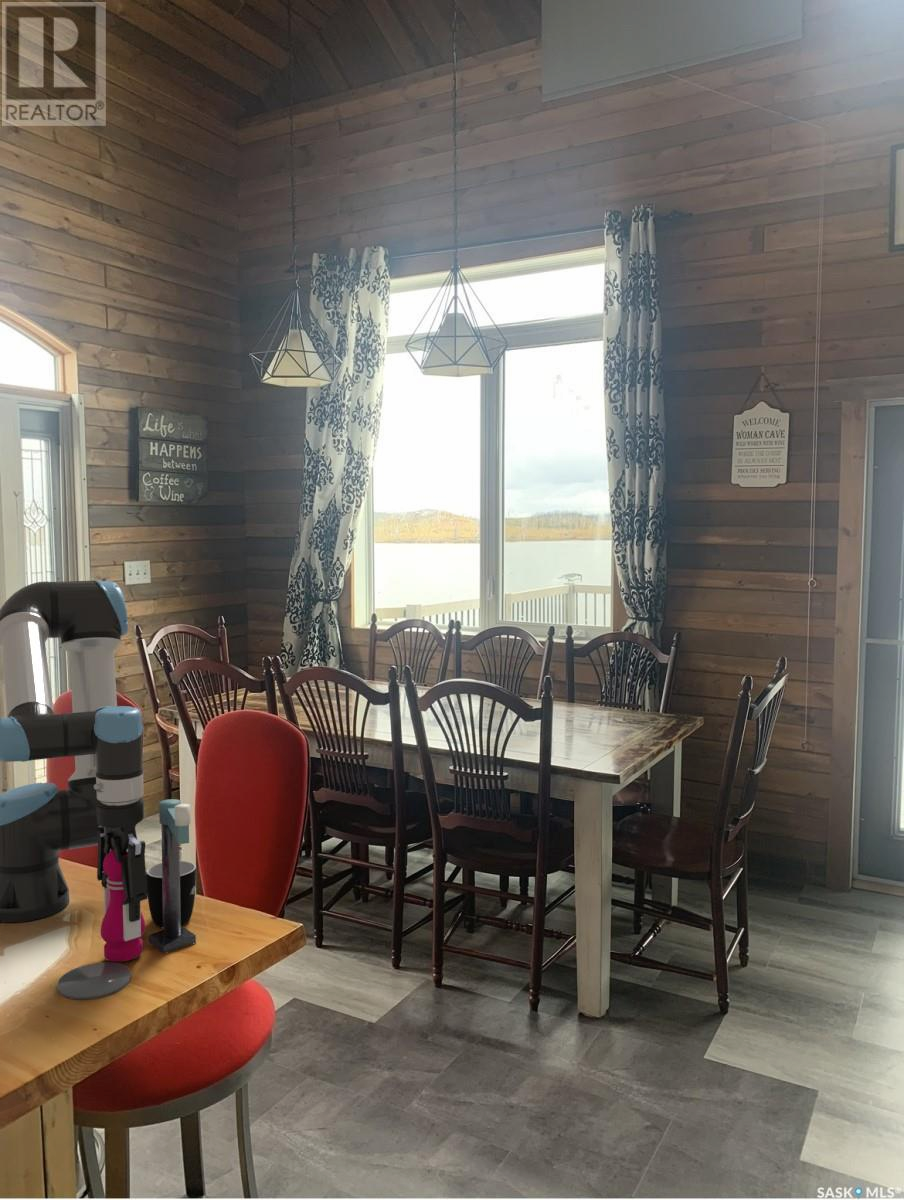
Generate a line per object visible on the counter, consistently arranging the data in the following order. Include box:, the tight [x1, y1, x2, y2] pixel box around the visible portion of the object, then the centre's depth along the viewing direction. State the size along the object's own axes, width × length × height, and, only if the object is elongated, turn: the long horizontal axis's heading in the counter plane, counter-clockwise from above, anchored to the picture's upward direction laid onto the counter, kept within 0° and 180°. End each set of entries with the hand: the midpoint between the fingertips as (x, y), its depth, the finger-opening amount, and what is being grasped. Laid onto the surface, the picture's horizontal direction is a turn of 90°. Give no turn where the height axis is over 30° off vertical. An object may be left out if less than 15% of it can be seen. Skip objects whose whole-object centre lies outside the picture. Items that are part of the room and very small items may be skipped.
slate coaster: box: [57, 961, 132, 1001], centre depth 148 cm, size 11×11×1 cm
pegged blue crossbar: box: [158, 798, 191, 845], centre depth 156 cm, size 15×4×6 cm, turn 27°
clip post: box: [147, 824, 197, 955], centre depth 162 cm, size 6×6×22 cm
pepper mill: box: [100, 850, 146, 963], centre depth 156 cm, size 7×7×20 cm
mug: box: [146, 860, 197, 928], centre depth 173 cm, size 12×9×10 cm
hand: (122, 930), depth 156 cm, fingers closed on pepper mill, 7 cm apart
